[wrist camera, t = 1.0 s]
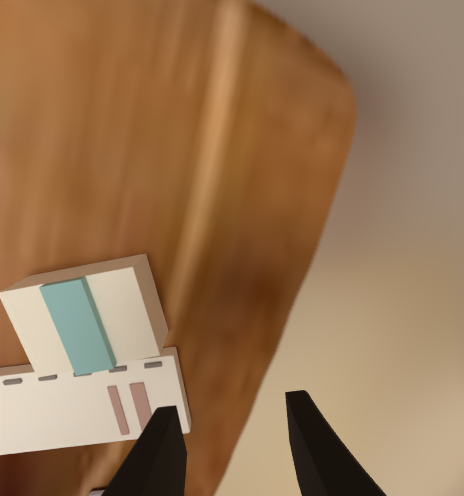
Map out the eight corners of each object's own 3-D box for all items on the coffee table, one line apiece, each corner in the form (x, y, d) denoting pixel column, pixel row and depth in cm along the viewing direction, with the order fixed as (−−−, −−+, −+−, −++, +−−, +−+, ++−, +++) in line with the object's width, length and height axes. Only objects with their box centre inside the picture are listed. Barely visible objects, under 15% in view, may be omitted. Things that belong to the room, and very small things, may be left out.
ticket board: (191, 421, 22) (189, 435, 21) (-29, 447, 22) (-43, 462, 21) (175, 346, 20) (172, 357, 19) (-65, 375, 20) (-83, 387, 19)
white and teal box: (169, 328, 20) (158, 360, 16) (64, 348, 20) (32, 383, 17) (147, 251, 18) (129, 269, 15) (33, 274, 18) (-10, 296, 15)
